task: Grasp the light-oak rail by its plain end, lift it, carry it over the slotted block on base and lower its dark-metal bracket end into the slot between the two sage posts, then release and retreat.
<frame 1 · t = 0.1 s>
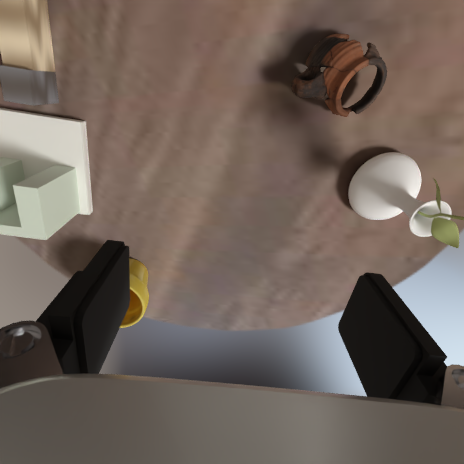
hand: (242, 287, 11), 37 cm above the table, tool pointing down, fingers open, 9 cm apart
rail: (37, 35, 38), on the table
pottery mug: (327, 77, 41), on the table
slotted block on base: (46, 172, 46), on the table
plant pot: (131, 271, 56), on the table
flower in vase: (378, 179, 48), on the table
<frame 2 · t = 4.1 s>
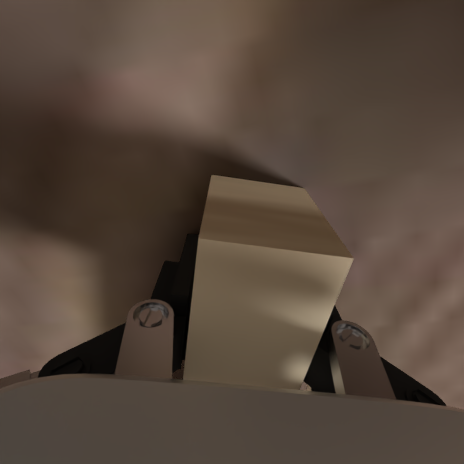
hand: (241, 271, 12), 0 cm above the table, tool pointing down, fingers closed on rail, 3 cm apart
rail: (228, 331, 15), on the table, touching gripper
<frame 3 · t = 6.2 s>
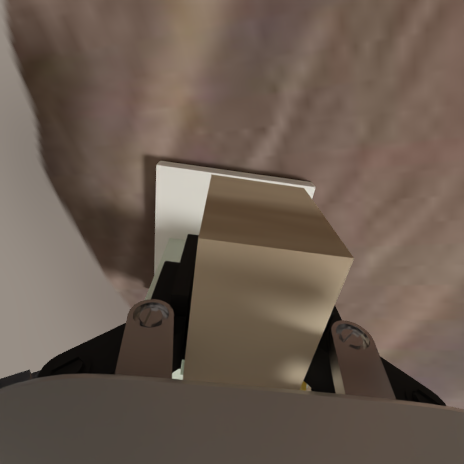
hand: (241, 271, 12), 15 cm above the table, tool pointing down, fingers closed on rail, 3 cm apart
rail: (228, 331, 14), point 15 cm above the table, touching gripper
slotted block on base: (224, 254, 30), on the table
when the fingers open (3 cm above the table, at t = 8.2 s): rail drops 1 cm, resting on slotted block on base.
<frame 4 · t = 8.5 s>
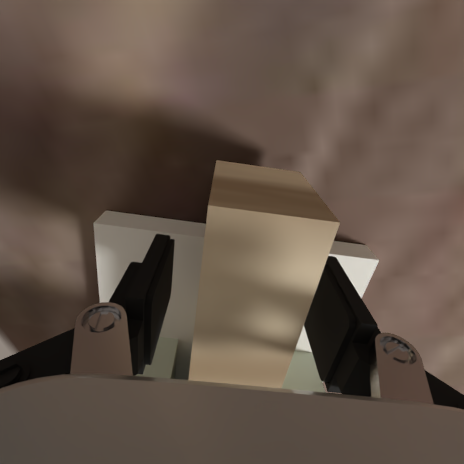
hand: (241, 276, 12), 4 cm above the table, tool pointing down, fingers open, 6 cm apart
rail: (231, 308, 16), point 1 cm above the table, touching slotted block on base
slotted block on base: (218, 346, 19), on the table
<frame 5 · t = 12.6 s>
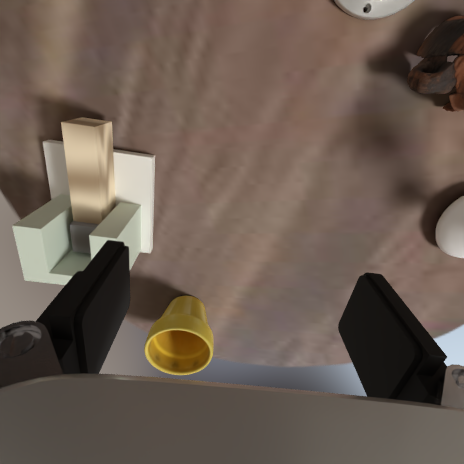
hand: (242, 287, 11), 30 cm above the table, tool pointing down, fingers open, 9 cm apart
rail: (101, 181, 39), point 1 cm above the table, touching slotted block on base
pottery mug: (440, 68, 35), on the table
slotted block on base: (106, 208, 43), on the table
plant pot: (187, 307, 52), on the table
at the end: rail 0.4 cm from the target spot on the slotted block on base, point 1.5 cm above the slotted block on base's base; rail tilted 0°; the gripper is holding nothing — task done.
